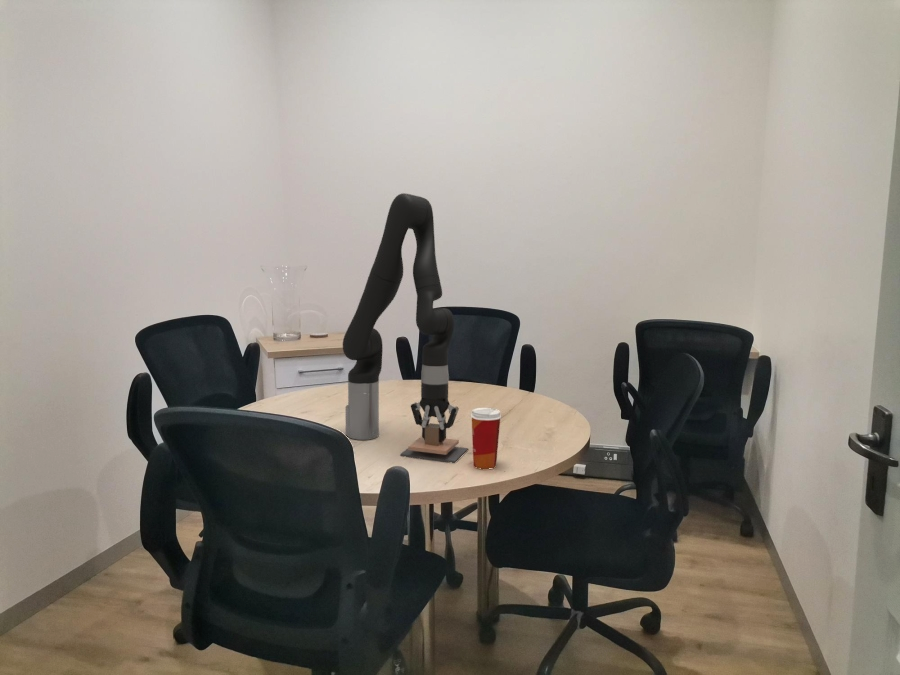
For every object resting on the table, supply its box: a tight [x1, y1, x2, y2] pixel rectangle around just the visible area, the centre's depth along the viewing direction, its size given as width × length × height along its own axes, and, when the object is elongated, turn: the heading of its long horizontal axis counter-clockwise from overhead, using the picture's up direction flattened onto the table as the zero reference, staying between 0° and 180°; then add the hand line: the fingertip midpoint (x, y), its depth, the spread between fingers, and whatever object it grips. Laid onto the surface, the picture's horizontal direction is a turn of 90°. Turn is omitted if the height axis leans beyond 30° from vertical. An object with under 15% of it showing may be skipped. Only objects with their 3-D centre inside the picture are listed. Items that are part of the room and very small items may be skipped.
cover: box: [407, 422, 460, 455], centre depth 172 cm, size 11×11×6 cm
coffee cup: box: [469, 407, 502, 470], centre depth 163 cm, size 8×8×15 cm
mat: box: [399, 446, 469, 464], centre depth 174 cm, size 16×12×1 cm
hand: (434, 440), depth 172 cm, fingers closed on cover, 4 cm apart
